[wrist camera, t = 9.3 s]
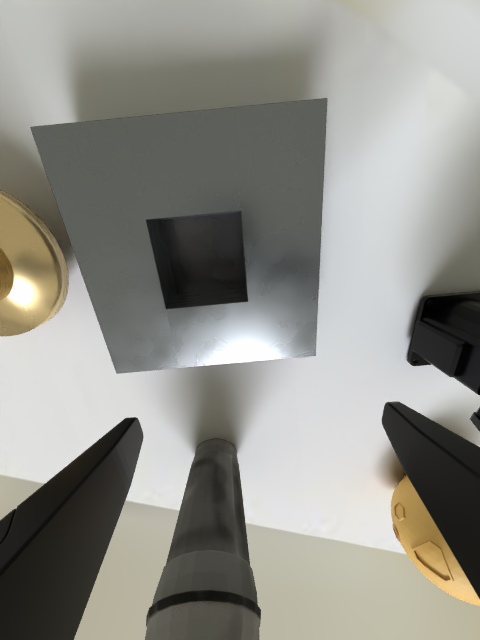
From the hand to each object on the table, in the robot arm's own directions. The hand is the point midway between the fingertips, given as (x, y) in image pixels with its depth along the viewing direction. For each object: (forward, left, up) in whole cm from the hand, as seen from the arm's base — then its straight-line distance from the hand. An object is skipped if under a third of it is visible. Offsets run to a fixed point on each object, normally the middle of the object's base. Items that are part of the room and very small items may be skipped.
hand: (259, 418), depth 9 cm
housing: (+2, -5, -12) cm, 13 cm away
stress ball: (-19, +23, -12) cm, 32 cm away
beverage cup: (+4, +16, -12) cm, 21 cm away
